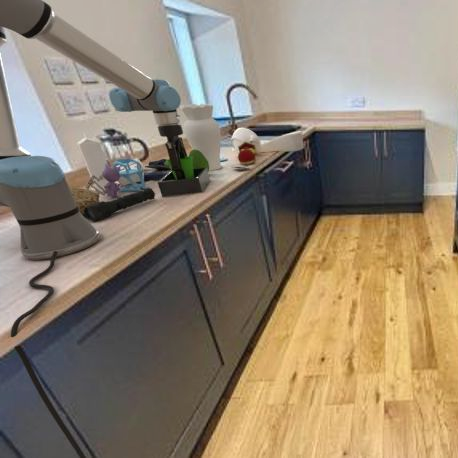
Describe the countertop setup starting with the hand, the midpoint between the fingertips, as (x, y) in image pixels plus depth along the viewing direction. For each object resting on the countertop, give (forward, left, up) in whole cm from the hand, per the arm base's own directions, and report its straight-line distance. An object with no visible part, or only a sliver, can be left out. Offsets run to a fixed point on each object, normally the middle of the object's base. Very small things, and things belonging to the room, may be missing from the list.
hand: (186, 183), depth 139 cm
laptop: (+22, -18, -2) cm, 28 cm away
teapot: (+57, -23, +8) cm, 62 cm away
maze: (-2, +28, +3) cm, 28 cm away
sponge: (-16, +28, -2) cm, 32 cm away
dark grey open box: (0, 0, -2) cm, 2 cm away
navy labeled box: (+29, +16, 0) cm, 33 cm away
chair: (+7, +20, -2) cm, 22 cm away
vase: (+31, -4, -2) cm, 32 cm away
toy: (+54, -6, -1) cm, 55 cm away
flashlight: (-20, +15, -2) cm, 25 cm away
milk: (+11, +32, -2) cm, 34 cm away
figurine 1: (-3, +24, -1) cm, 24 cm away
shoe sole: (+63, -31, -4) cm, 70 cm away
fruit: (+17, -2, -2) cm, 17 cm away
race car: (+28, +15, +1) cm, 32 cm away
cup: (0, 0, -1) cm, 1 cm away
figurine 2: (+45, -20, +3) cm, 49 cm away
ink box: (+14, +24, +1) cm, 28 cm away
